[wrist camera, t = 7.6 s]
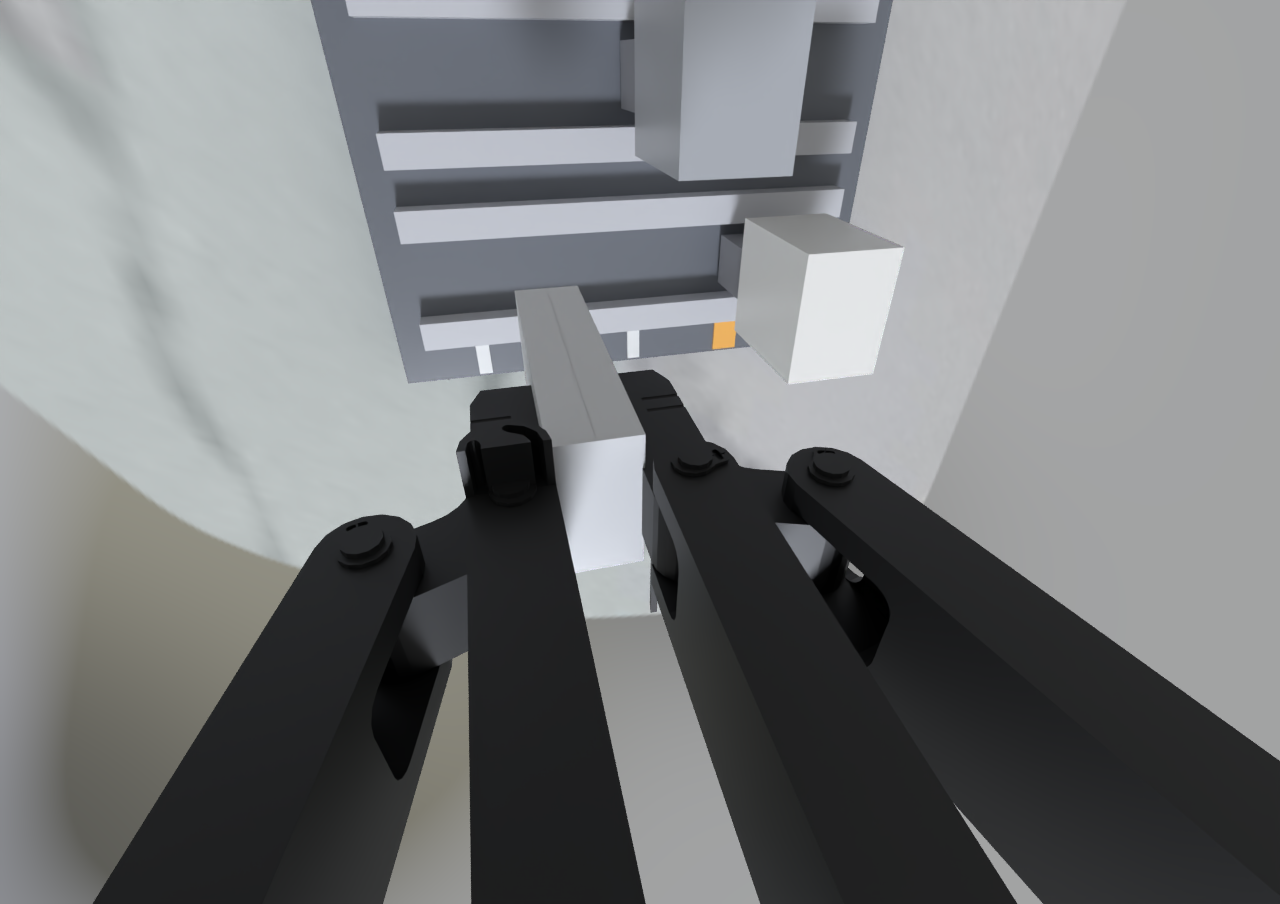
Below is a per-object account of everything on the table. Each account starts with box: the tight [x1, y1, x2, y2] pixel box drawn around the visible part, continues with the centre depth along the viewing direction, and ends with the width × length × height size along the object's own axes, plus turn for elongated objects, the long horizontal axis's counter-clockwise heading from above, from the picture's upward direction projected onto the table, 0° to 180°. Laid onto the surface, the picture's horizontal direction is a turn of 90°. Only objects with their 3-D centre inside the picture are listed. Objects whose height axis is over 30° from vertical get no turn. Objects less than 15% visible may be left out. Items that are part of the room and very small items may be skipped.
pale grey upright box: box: [620, 0, 816, 181], centre depth 16 cm, size 4×3×7 cm
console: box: [311, 0, 893, 383], centre depth 21 cm, size 14×18×3 cm
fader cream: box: [718, 213, 905, 384], centre depth 20 cm, size 4×3×7 cm
